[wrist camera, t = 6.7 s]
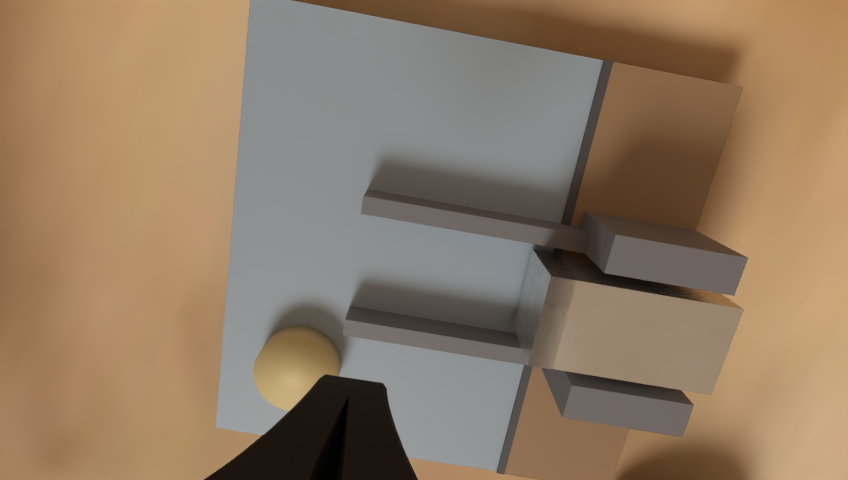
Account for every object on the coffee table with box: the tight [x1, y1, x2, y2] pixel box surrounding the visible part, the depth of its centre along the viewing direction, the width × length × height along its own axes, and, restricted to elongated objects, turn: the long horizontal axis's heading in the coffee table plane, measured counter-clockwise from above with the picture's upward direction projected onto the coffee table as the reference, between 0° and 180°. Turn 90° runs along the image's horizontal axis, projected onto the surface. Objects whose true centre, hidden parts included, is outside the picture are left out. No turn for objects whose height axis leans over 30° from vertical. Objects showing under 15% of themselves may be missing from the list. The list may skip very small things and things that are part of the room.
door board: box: [216, 0, 748, 480], centre depth 18 cm, size 16×16×4 cm
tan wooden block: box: [513, 249, 744, 395], centre depth 17 cm, size 6×3×3 cm, turn 80°
